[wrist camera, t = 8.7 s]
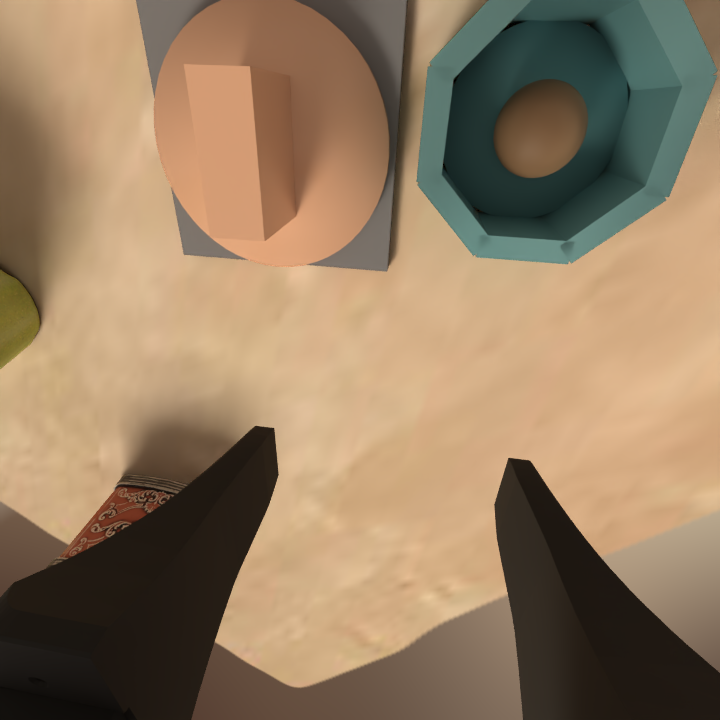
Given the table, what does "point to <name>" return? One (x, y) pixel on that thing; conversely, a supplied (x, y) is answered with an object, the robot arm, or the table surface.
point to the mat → (385, 58)
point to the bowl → (604, 132)
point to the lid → (271, 130)
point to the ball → (540, 128)
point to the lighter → (122, 510)
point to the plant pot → (15, 318)
